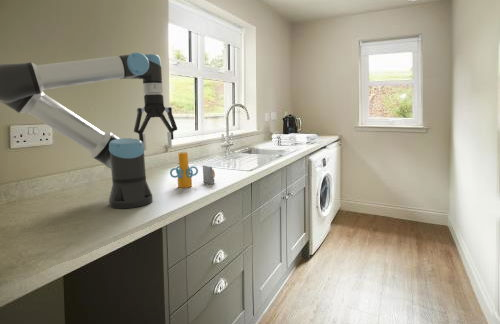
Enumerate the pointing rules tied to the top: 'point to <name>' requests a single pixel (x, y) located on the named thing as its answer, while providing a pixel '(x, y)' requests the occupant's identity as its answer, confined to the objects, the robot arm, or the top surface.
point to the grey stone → (208, 174)
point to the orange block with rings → (184, 171)
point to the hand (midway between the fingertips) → (157, 148)
